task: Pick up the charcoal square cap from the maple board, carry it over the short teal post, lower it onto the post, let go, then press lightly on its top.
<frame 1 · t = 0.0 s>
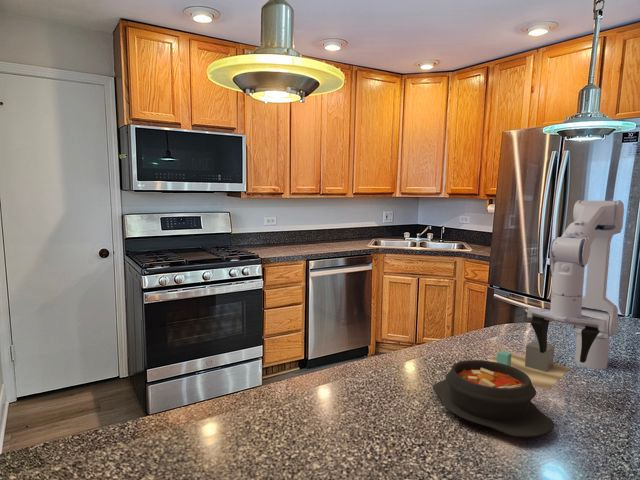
hand: (562, 356, 89), 10 cm above the countertop, tool pointing down, fingers open, 7 cm apart
post: (503, 368, 106), resting on board
cap: (539, 366, 108), point 1 cm above the countertop, touching board
casserole: (487, 413, 85), on the countertop
board: (523, 370, 107), on the countertop
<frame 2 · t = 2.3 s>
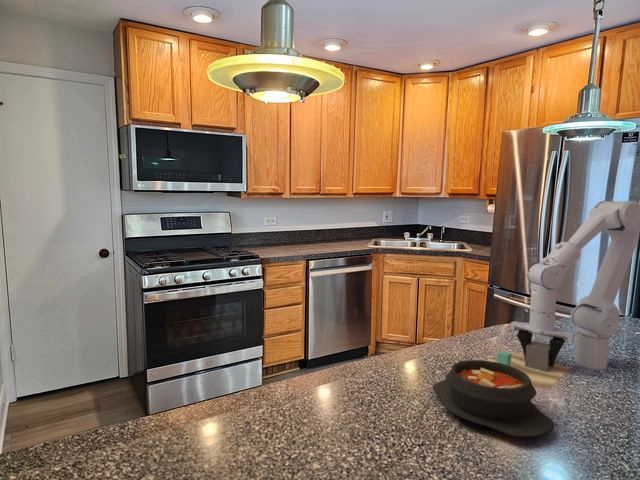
hand: (539, 362, 108), 2 cm above the countertop, tool pointing down, fingers closed on cap, 5 cm apart
cap: (539, 366, 108), point 1 cm above the countertop, touching board, gripper
everything else where it was.
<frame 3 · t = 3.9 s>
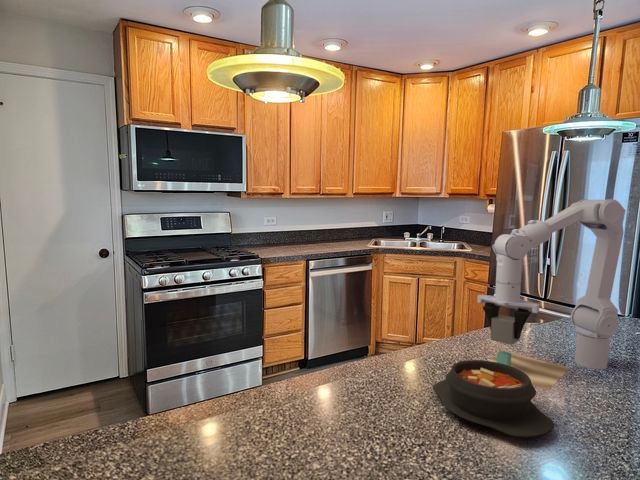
hand: (505, 335, 106), 9 cm above the countertop, tool pointing down, fingers closed on cap, 5 cm apart
cap: (504, 340, 106), point 8 cm above the countertop, touching gripper
everything else where it was.
when the fingers open (4 cm above the countertop, at t = 5.7 s): cap drops 2 cm, resting on board.
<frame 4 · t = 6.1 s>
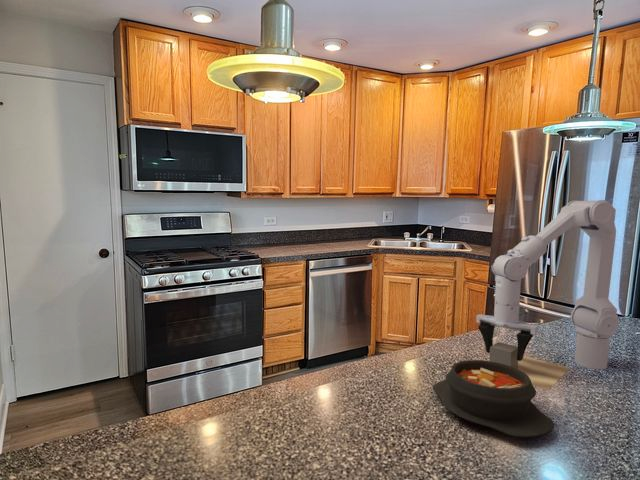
hand: (504, 355, 106), 4 cm above the countertop, tool pointing down, fingers open, 7 cm apart
cap: (503, 368, 106), point 1 cm above the countertop, touching board
everything else where it was.
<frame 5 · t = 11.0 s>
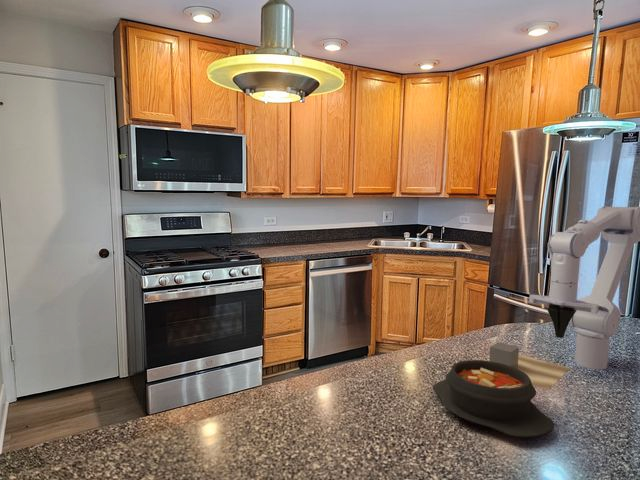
hand: (559, 336, 102), 10 cm above the countertop, tool pointing down, fingers closed
nothing on the countertop moved.
at the end: cap 0.1 cm from the post (horizontally); cap point 0.8 cm above the countertop; cap tilted 0° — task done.
